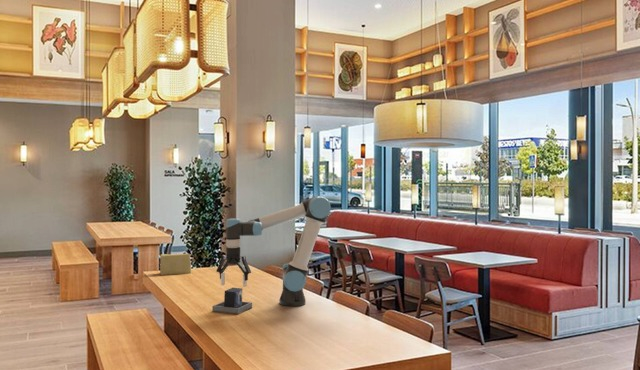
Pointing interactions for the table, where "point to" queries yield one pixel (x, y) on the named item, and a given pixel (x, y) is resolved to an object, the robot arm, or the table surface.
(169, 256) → the olive rectangular block
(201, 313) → the table surface
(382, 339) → the table surface
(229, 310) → the tray
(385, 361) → the table surface
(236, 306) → the small box
